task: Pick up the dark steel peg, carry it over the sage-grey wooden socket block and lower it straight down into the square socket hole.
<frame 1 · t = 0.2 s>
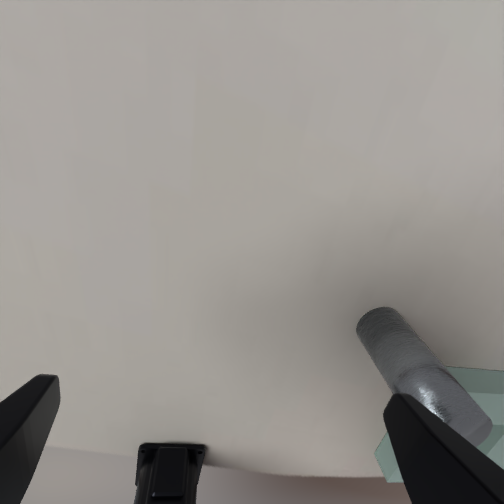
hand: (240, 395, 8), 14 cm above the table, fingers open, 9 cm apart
socket block: (453, 415, 34), on the table
peg: (378, 325, 27), on the table
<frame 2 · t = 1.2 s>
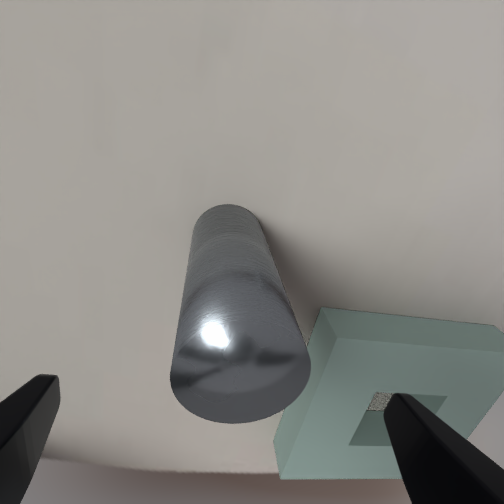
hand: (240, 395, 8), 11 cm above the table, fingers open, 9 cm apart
socket block: (376, 386, 25), on the table
peg: (227, 237, 18), on the table
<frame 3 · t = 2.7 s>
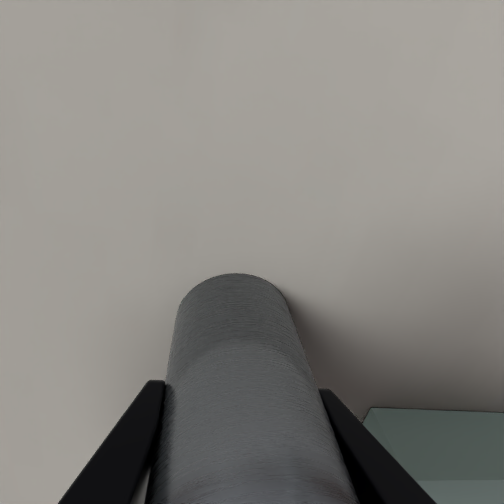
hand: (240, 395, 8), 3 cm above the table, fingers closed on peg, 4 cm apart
socket block: (436, 493, 18), on the table
peg: (233, 322, 11), on the table, touching gripper
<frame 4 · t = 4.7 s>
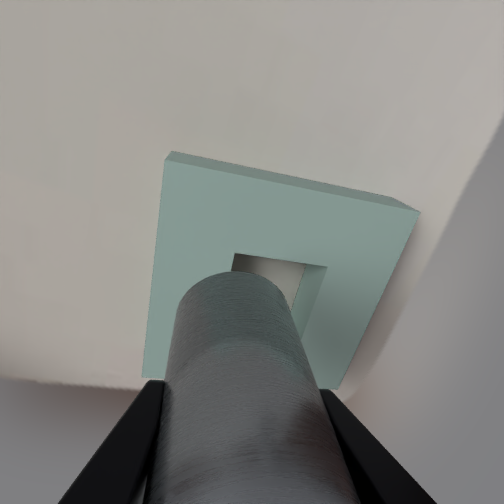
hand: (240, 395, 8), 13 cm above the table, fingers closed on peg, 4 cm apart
socket block: (263, 275, 21), on the table
peg: (233, 320, 11), point 9 cm above the table, touching gripper
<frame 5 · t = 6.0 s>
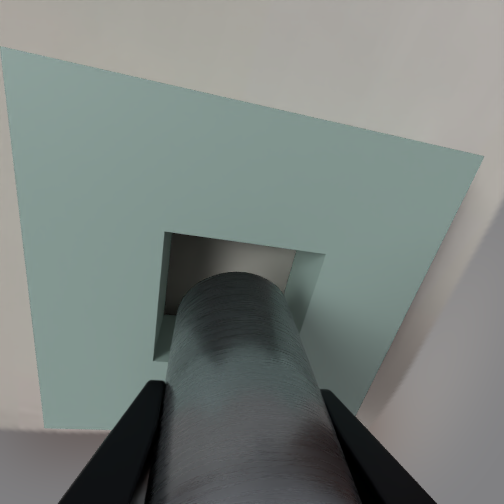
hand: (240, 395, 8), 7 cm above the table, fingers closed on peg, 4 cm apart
socket block: (230, 271, 14), on the table
peg: (233, 321, 11), point 4 cm above the table, touching gripper
when the fingers open (4 cm above the table, at t = 7.0 s): peg stays where it is, resting in socket block.
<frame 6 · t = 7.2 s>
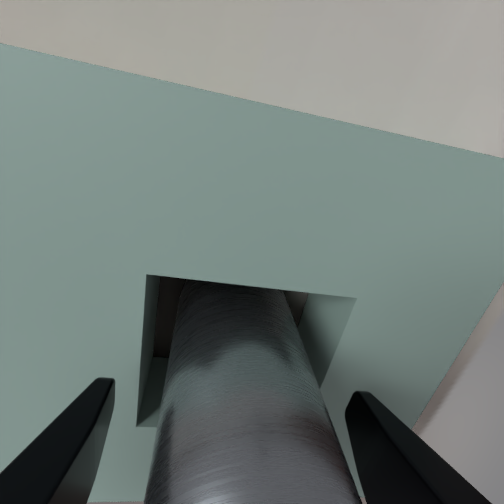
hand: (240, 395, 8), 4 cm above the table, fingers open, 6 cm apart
socket block: (233, 306, 12), on the table
peg: (232, 304, 12), resting in socket block
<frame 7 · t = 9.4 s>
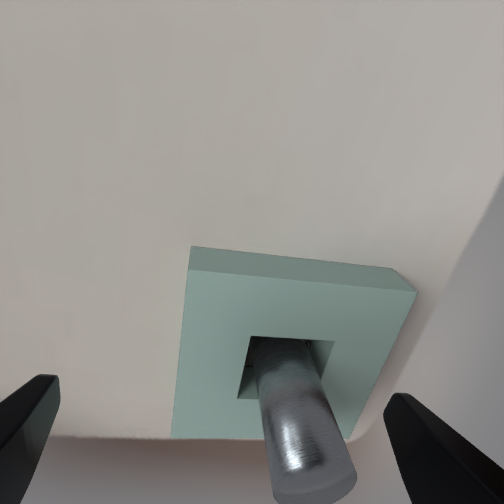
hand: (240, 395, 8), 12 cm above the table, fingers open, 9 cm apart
socket block: (276, 340, 23), on the table
peg: (275, 339, 23), resting in socket block
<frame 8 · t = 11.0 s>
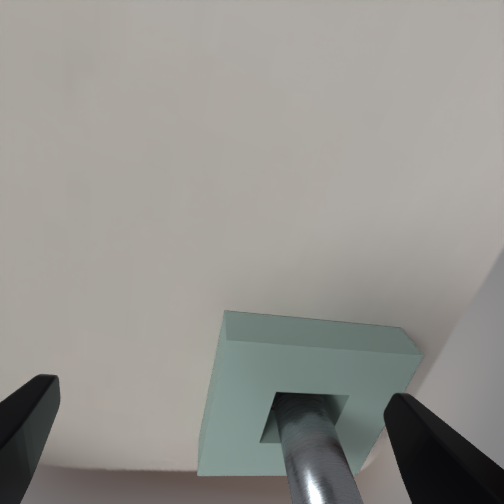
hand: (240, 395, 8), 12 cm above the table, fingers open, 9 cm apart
socket block: (293, 386, 26), on the table
peg: (293, 386, 26), resting in socket block
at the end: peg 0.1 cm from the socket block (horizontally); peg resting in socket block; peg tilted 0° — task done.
